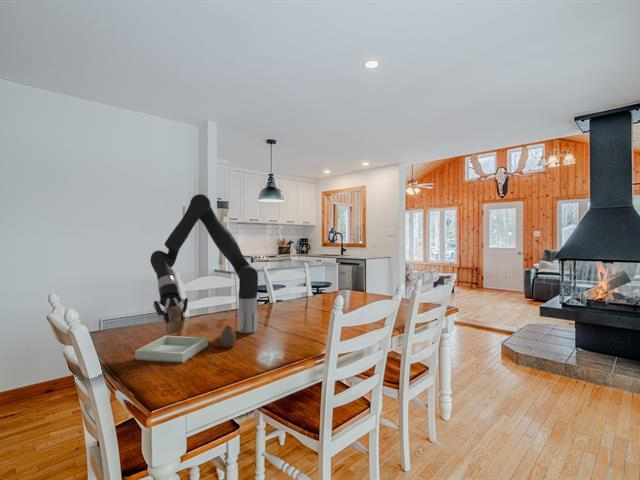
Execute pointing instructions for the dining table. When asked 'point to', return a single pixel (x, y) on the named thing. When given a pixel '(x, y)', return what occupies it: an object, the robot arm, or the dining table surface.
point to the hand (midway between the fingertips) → (174, 321)
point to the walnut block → (174, 320)
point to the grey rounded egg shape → (227, 337)
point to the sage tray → (171, 349)
